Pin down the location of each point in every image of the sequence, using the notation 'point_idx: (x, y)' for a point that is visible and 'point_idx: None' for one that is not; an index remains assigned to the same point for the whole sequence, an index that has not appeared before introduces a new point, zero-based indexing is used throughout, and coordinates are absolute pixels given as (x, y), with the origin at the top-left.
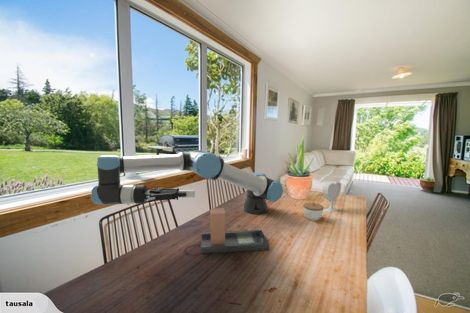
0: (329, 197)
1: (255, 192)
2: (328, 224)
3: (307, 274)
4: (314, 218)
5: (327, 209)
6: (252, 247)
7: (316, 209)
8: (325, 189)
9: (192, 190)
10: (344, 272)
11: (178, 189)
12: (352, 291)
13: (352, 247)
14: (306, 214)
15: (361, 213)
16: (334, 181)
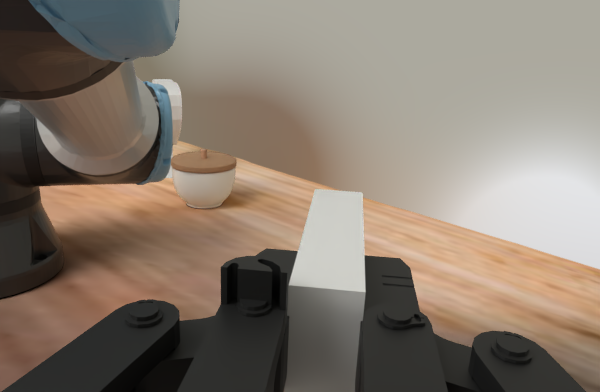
0: (180, 129)
1: (110, 156)
2: (257, 198)
3: (534, 303)
4: (226, 196)
5: (169, 170)
6: None
7: (233, 164)
8: (173, 105)
9: (340, 199)
10: (505, 255)
11: (276, 279)
12: (579, 271)
13: (389, 213)
14: (206, 193)
15: None
16: (161, 79)
